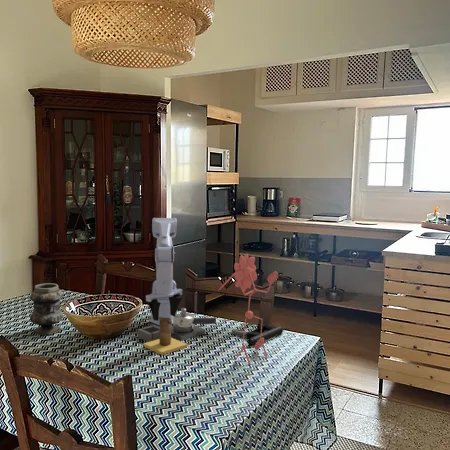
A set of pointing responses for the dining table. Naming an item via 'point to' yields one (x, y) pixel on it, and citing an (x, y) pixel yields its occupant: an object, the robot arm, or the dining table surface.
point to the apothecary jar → (46, 308)
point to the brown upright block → (165, 331)
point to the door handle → (254, 335)
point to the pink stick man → (244, 279)
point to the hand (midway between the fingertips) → (164, 317)
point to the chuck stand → (187, 333)
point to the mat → (165, 349)
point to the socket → (149, 333)
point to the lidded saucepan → (188, 321)
